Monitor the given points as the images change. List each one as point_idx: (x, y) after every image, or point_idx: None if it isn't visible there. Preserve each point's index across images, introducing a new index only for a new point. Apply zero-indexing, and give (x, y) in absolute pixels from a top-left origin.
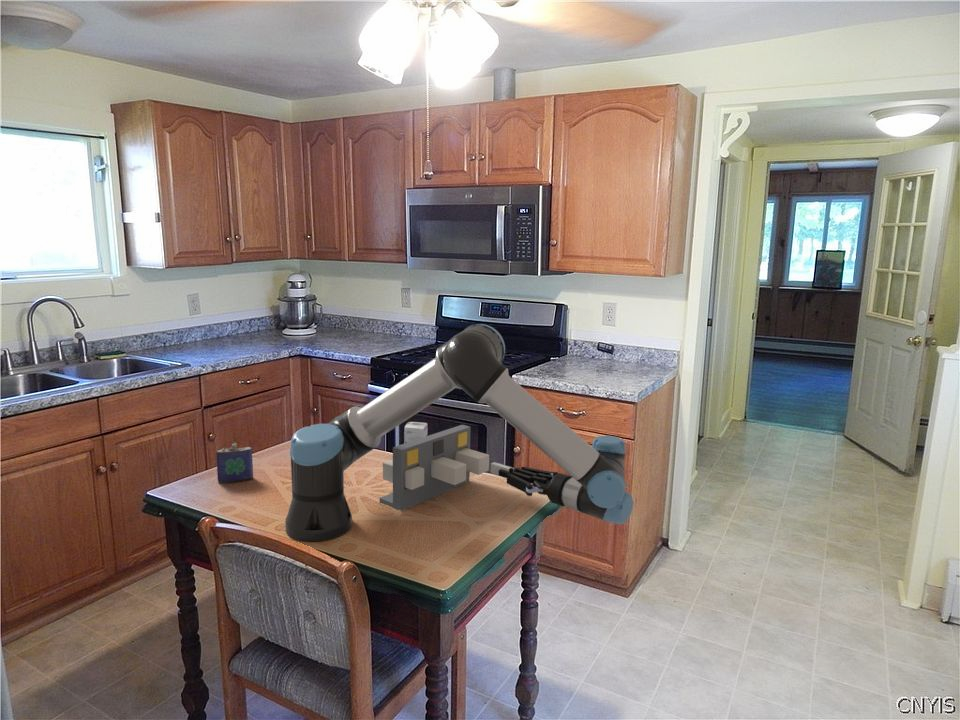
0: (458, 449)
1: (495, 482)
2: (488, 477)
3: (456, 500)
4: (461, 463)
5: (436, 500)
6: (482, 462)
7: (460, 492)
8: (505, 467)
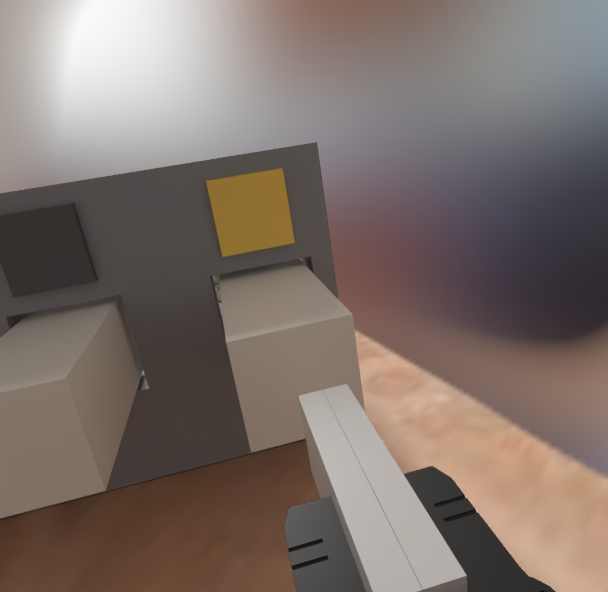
0: (237, 269)
1: (481, 470)
2: (468, 420)
3: (128, 573)
4: (61, 365)
5: (68, 527)
6: (277, 368)
7: (233, 499)
8: (357, 507)
